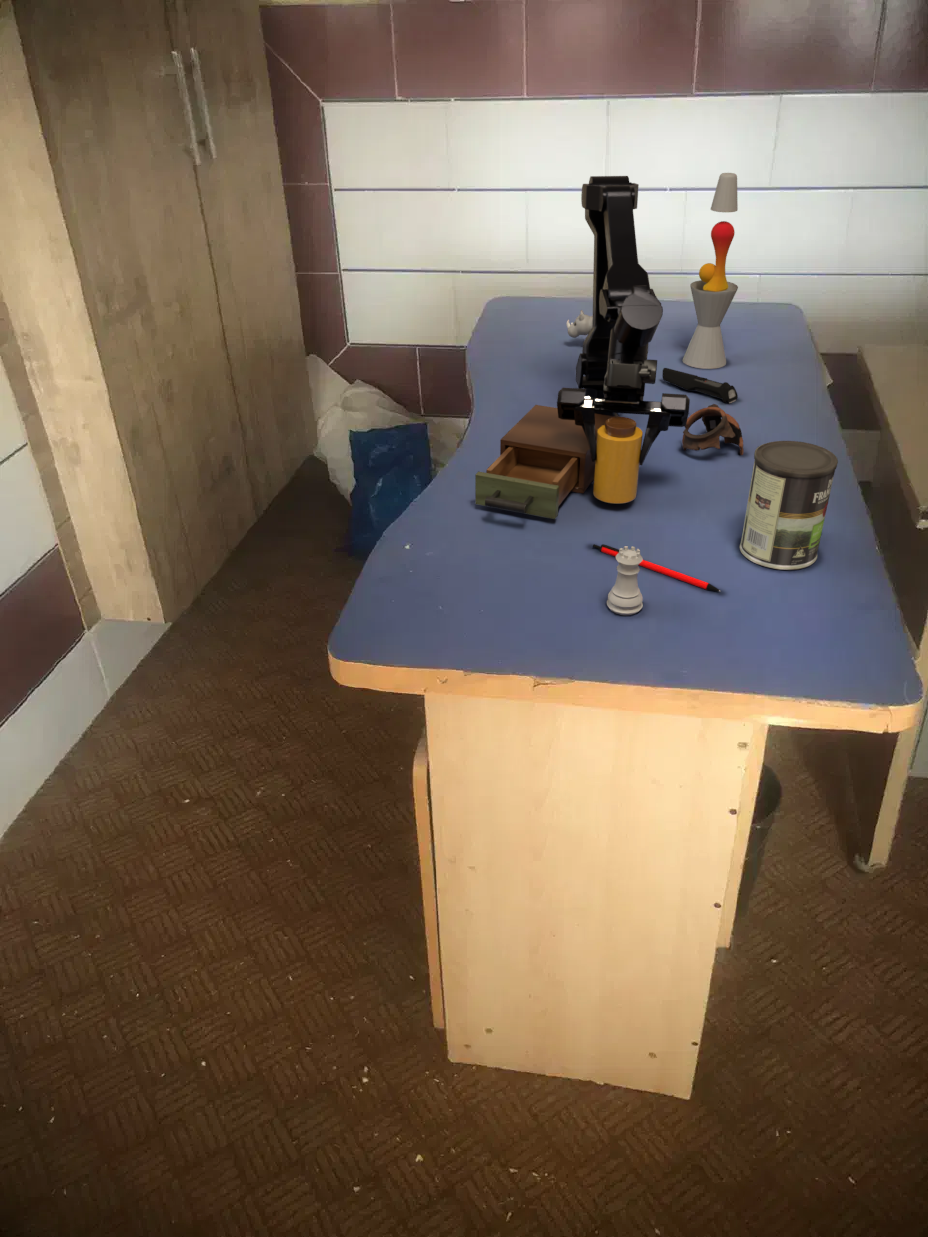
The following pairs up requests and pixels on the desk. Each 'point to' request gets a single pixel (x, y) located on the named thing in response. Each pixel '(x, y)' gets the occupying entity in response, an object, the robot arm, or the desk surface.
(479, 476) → the drawer
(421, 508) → the desk surface
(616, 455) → the bottle
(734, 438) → the pottery mug
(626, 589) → the rook chess piece
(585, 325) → the round bodied animal figurine
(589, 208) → the robot arm
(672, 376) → the black flashlight
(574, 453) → the cabinet
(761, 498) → the coffee can
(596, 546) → the pen
